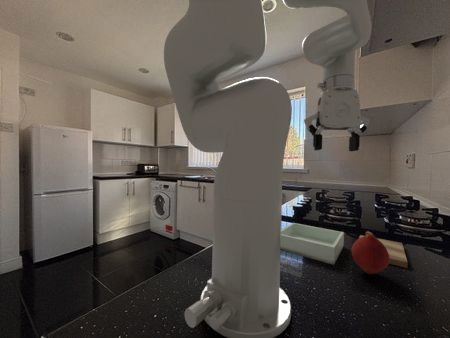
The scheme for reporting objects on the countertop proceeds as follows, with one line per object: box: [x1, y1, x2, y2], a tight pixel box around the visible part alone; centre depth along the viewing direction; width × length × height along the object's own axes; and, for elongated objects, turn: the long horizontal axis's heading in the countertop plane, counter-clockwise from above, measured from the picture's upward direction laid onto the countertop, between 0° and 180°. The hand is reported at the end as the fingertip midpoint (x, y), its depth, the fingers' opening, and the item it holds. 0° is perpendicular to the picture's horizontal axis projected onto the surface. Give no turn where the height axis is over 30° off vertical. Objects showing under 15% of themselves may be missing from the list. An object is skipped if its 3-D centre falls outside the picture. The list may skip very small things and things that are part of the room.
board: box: [358, 234, 408, 269], centre depth 49 cm, size 14×9×1 cm, turn 142°
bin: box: [280, 222, 345, 266], centre depth 50 cm, size 13×13×4 cm
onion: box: [350, 231, 390, 275], centre depth 38 cm, size 6×6×8 cm
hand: (335, 150), depth 54 cm, fingers open, 9 cm apart
